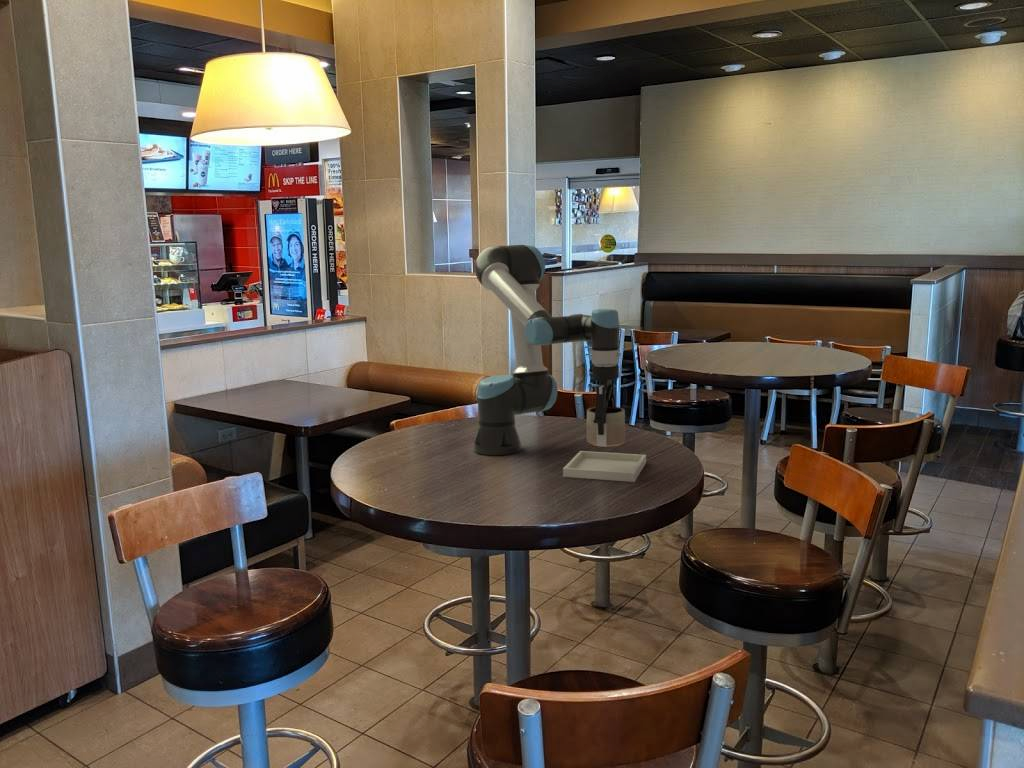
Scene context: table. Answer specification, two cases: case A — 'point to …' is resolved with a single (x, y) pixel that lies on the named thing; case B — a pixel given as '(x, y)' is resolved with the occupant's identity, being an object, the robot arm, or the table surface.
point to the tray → (605, 466)
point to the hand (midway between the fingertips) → (605, 440)
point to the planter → (614, 426)
